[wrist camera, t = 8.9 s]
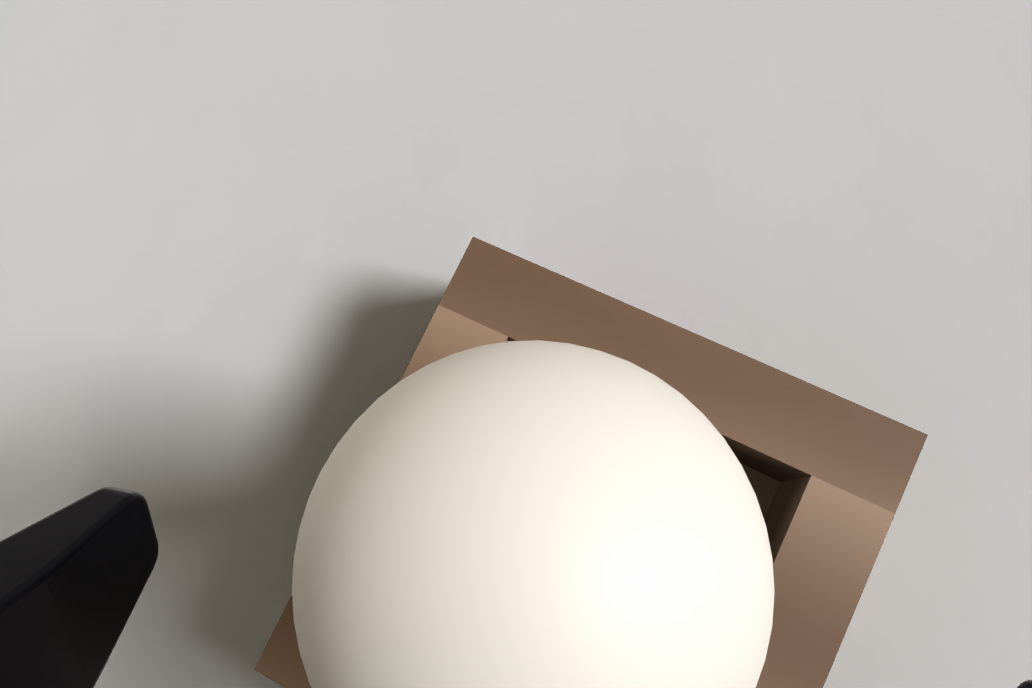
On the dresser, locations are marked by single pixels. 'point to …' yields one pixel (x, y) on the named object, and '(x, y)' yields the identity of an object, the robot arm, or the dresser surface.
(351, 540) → the dome-topped blue cylinder
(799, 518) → the open wooden box
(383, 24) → the dresser surface
